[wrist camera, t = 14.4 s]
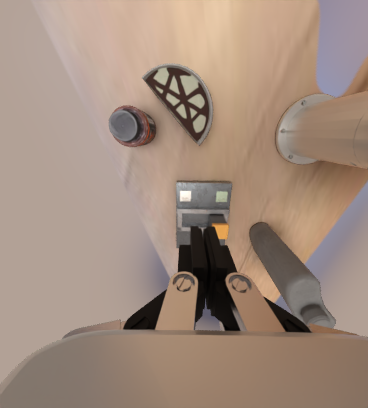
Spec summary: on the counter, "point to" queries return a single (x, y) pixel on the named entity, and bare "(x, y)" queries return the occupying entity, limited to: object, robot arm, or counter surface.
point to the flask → (291, 277)
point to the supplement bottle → (131, 126)
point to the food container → (183, 97)
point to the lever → (219, 225)
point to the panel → (200, 206)
